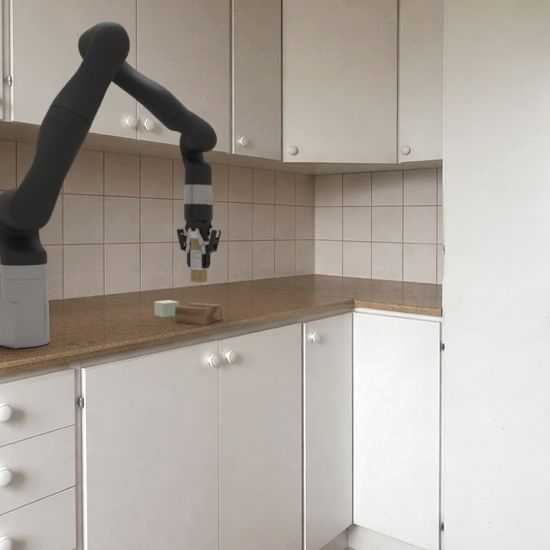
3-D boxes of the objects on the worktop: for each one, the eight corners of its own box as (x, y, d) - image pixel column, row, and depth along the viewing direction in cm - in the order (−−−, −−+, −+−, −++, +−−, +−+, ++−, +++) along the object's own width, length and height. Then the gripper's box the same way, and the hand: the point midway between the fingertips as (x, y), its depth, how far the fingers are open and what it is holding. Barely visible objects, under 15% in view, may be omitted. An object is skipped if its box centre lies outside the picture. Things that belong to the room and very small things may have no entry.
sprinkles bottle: (200, 280, 158) (199, 230, 157) (210, 281, 155) (211, 231, 154) (186, 281, 155) (186, 230, 154) (197, 282, 152) (197, 231, 151)
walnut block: (204, 324, 150) (204, 309, 150) (175, 321, 154) (175, 306, 154) (222, 319, 158) (222, 304, 158) (193, 316, 162) (193, 302, 162)
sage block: (163, 317, 161) (163, 303, 160) (154, 315, 165) (154, 301, 164) (179, 316, 164) (179, 302, 164) (170, 313, 168) (170, 300, 168)
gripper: (168, 202, 154) (169, 267, 156) (209, 202, 146) (209, 270, 148) (188, 203, 160) (188, 265, 162) (228, 203, 152) (228, 268, 154)
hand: (198, 267), depth 155 cm, fingers closed on sprinkles bottle, 4 cm apart
